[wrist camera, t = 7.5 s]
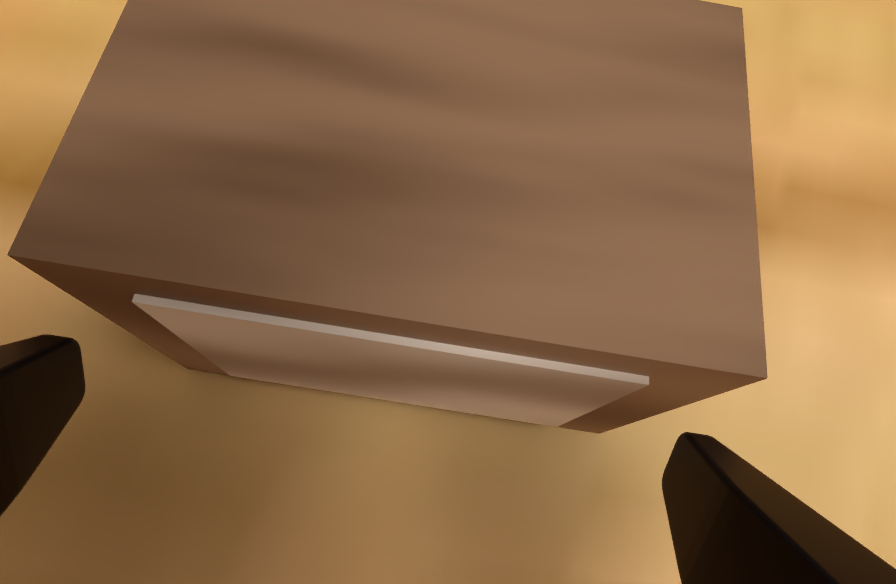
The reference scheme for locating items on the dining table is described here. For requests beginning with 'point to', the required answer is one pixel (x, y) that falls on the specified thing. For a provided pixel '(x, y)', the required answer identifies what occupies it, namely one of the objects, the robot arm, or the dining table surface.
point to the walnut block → (422, 200)
